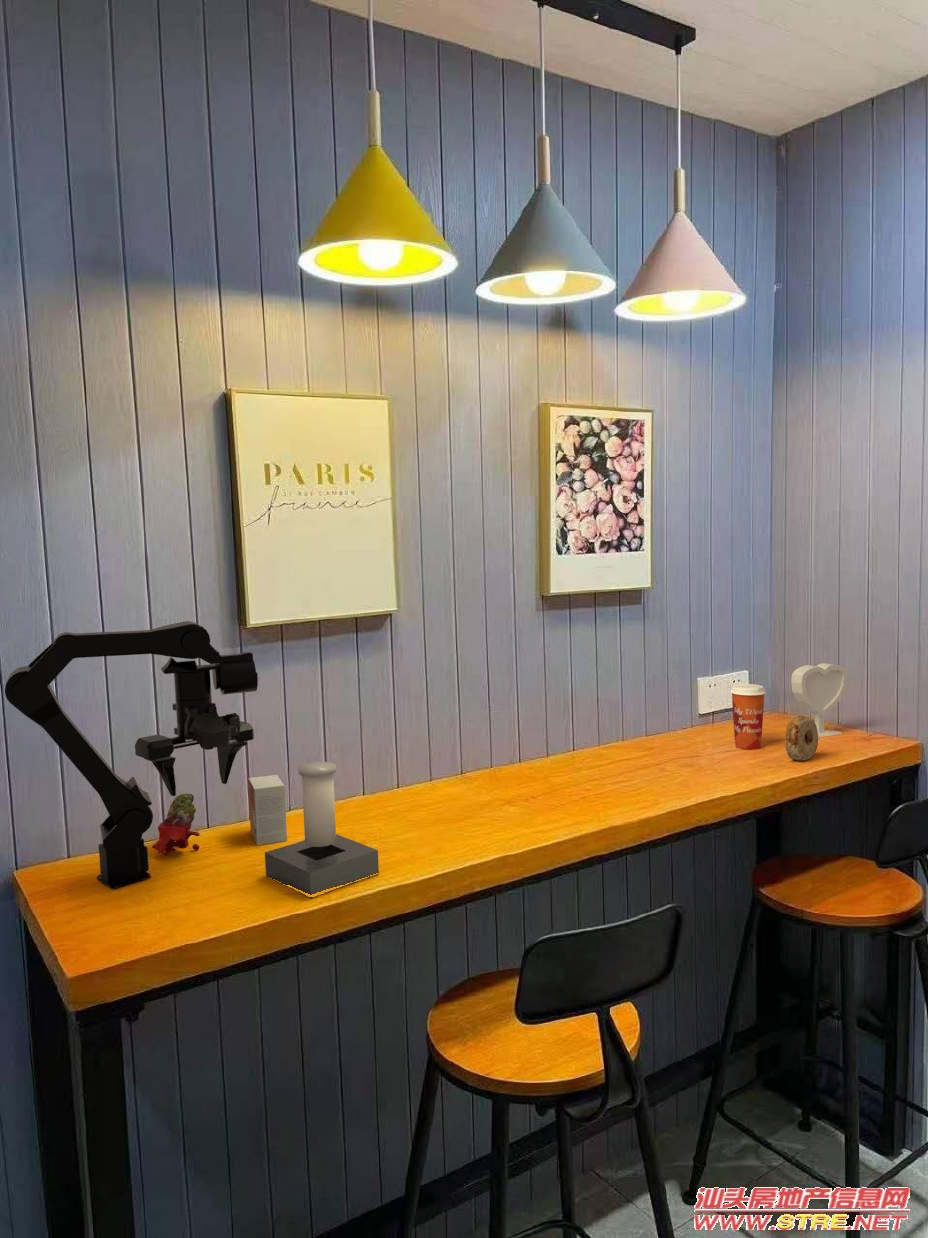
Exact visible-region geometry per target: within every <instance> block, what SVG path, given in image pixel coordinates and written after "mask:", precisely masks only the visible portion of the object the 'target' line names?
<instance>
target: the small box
mask: <svg viewBox="0 0 928 1238" xmlns="http://www.w3.org/2000/svg"><path fill="white" fill-rule="evenodd" d="M247 782H248V802H249V803H248V804H249V823H250V826H249V827H250V833H251V835H252V837H253V839H254V842H255V844H256V846H262V845H268V844H270V845H271V844H276V843H283V842H287V841H288V832H287V831H288V829H287V827H288V825H287V807H286V806H287V805H286V804H287V803H286V802H287V801H286V785H285V784H284V783H283V782H282V780H281V779H280V777H279V775H278V774H272V775H263V776H254V777H248V778H247Z"/></svg>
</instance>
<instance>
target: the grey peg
mask: <svg viewBox="0 0 928 1238" xmlns="http://www.w3.org/2000/svg"><path fill="white" fill-rule="evenodd" d="M297 770H298V771H297V772H298V775H299V776H301V785H302V787H301V788H302V807H303V808H302V809H303V828H304V829H303V830H304V840H305V844H306V845H308V846H312V847H322V846H328V845H331V844H333V843H335V842H336V834H337V828H336V827H337V825H336V823H337V821H336V804H335V801H336V800H335V784H334V783H335V780H334V774H335V773H336V772H337V764H336V763H334V762H331V761H330V762H329V761H314V762H307V763H304V764H302V765H299V766H298V767H297Z"/></svg>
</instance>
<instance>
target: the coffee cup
mask: <svg viewBox="0 0 928 1238" xmlns="http://www.w3.org/2000/svg"><path fill="white" fill-rule="evenodd" d="M730 693H731V701H732V715H733V716H732V717H733V732H734V746H735V748H736V749H739V748H740V750H746V751H747V750H748V751H750V750H751V751H754V750H759V749H761V748H762V737H763V734H762V733H763V723H764V706H765V704H764V703H765V694H767V691H766V688H765V687H764V686H763V685H761V684H760V685H759V684H756V683H755V684H754V683H740V684H739V683H738V684H734V685H733V686H732V689H731V690H730Z"/></svg>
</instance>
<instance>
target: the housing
mask: <svg viewBox="0 0 928 1238" xmlns="http://www.w3.org/2000/svg"><path fill="white" fill-rule="evenodd" d="M264 861H265V862H264V864H265V877H266V876H267V878H268V877H270V878H272V879H271V880H273V879H275V880H277V881H279V882H281V883H283V884H285V885H290V886H292V887H294V888H296V889H298V890H301V891H303V892H305V893H308V894H310V895H312V894H315V893H317V892H321V891H323V890H326V889H330V888H333V887H337V886H340V885H345V884H347V883H350V882H354V881H356V880H359V879H362V878H365V877H368V876H370V875H373V874H376V873H379V874H380V866H379V850H378V849H376V848H373V847H371V846H368V845H366V844H362V843H360V842H357V841H355V840H352V839H350V838H348V837H344V836H342V835H339V834H337V833H336V842H335V843H333V844H331V845H328V846H322V847H312V846H308V845H306V844H305V839H304V840H301V841H297V842H295V843H291V844H288V845H285V846H281V847H278V848H274V849H271V850H267V851H265V852H264ZM270 878H269V879H270ZM275 880H274V881H275ZM277 881H276V882H277ZM279 882H278V883H279ZM281 883H280V884H281ZM283 884H282V885H283ZM285 885H284V886H285Z"/></svg>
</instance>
